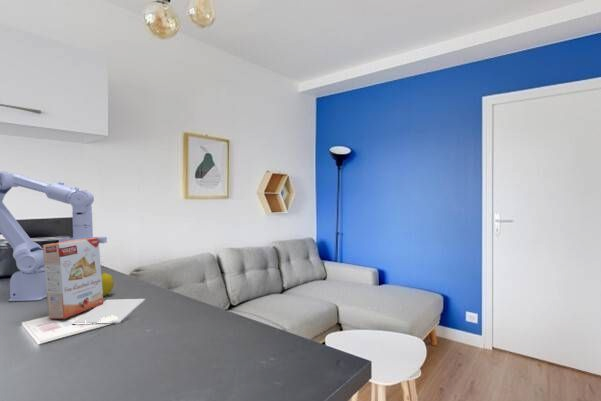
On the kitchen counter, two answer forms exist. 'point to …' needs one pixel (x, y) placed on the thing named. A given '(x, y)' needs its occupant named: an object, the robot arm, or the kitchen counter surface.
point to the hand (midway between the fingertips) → (83, 264)
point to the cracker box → (72, 277)
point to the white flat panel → (111, 310)
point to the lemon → (107, 283)
